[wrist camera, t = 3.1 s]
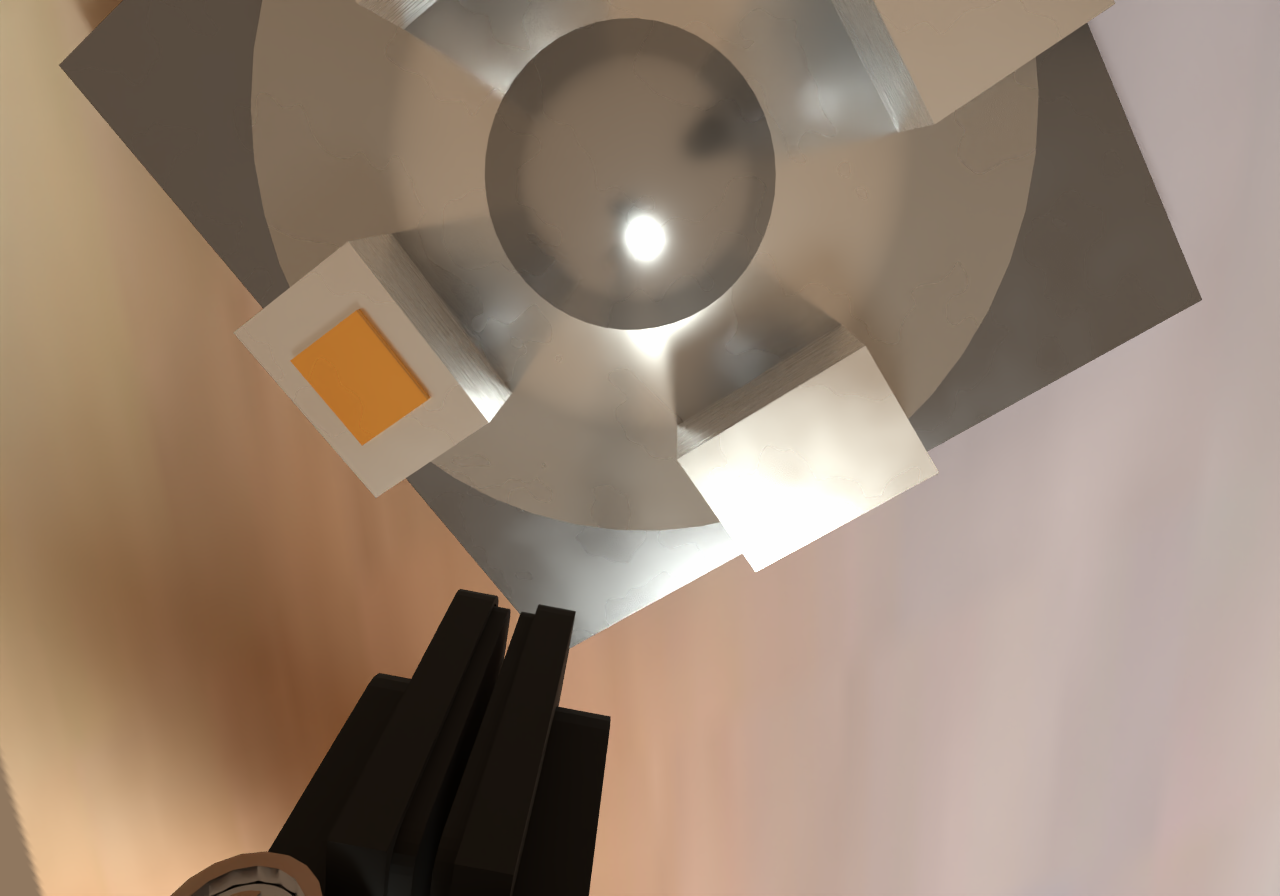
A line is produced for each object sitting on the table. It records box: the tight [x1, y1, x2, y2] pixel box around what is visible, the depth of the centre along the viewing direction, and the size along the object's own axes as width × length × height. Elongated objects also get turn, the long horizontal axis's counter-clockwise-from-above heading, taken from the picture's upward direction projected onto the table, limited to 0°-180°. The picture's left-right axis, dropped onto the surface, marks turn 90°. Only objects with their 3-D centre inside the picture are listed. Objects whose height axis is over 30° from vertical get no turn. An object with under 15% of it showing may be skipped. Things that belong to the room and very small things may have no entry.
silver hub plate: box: [234, 0, 1115, 572], centre depth 16 cm, size 18×18×5 cm
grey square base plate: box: [59, 0, 1202, 649], centre depth 20 cm, size 22×22×2 cm
